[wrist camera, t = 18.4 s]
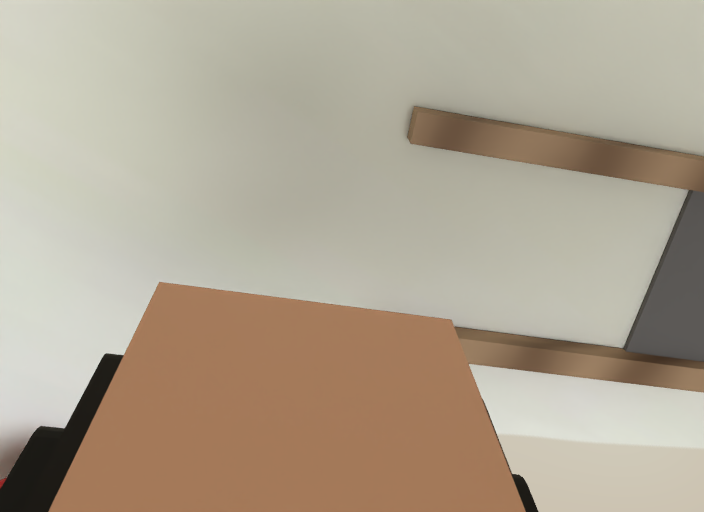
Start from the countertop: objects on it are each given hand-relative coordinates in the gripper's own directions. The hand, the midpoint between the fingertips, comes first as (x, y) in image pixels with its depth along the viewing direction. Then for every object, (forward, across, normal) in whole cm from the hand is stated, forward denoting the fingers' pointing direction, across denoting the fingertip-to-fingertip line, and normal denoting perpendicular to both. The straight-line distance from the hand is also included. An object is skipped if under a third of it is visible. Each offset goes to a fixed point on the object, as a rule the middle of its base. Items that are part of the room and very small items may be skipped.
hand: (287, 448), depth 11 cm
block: (+1, 0, 0) cm, 1 cm away
